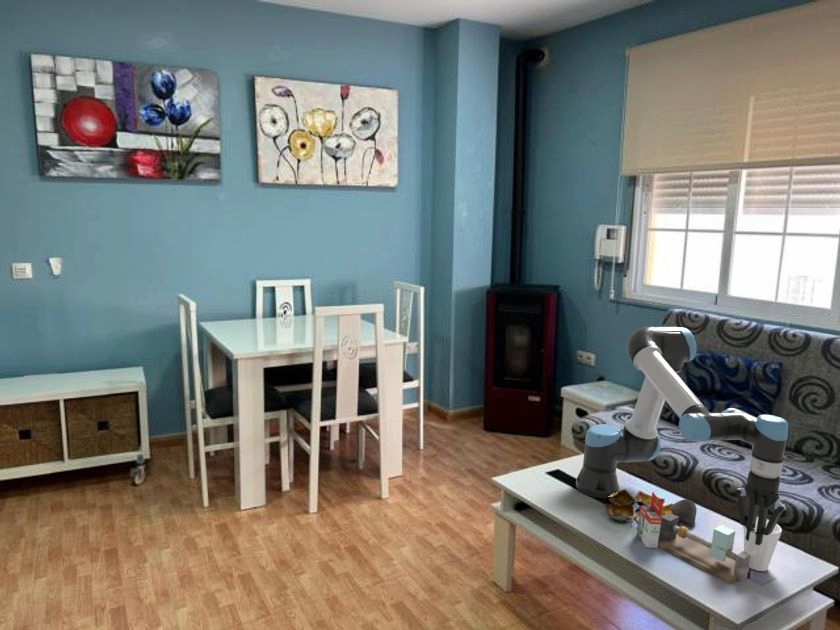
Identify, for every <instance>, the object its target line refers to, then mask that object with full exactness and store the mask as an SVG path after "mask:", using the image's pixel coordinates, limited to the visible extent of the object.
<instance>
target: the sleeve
mask: <svg viewBox="0 0 840 630" xmlns="http://www.w3.org/2000/svg"><path fill="white" fill-rule="evenodd" d="M735 535H736V530H734V529H732V528H730V527H728V526H725V525H723V524H720V525H718V526H717V527H715V528H713V531H712V539H711V542H712V545H711V552H710V556H712V557H714V558H716V559H718V560H720V561H722V562H725V559H726V557H727V556H726V552H727V550H729V551H731V552H733V550H734V542H735V538H736V537H735ZM728 558H729V557H728Z"/></svg>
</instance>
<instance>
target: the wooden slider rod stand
mask: <svg viewBox="0 0 840 630" xmlns="http://www.w3.org/2000/svg"><path fill="white" fill-rule="evenodd" d="M678 525H679V517H678V516H676V515H674V514H671V513H668V514H666V513H665V515H662V517H661V525H660V532H659V539H658V546H657V548H660V549H662V550H664V551H665V552H668V553H670V554H671V555H673V556H675V557H677V558H679V559H681V560H683V561H686V562H687V563H689V564H691V565H692V566H695V567H697V568H699V569H701V570H703V571H705V572H707V573H708V574H710V575H712V576H714V577H716V578H718V579H720V580H722V581H724V582H726V583H728V584H733V582H735V581H738V582H742V581H743V580H745V579H746V578H747V577H748V573H750V569H751V568H750V567H749V562H750V556H751V555H749V554H747V552H745V551H744V550H743V551H742V550H741V552H739V553H736V552H733V551H732V552H731V551H729V550H727V552H726V556H727V557H726V559H725V562H722V561H720V560H718V559H716V558H714V557H712V556H710V552H711V545H712V541H710V540H708V539H707V538H703V537H701V536H699V535H697V534H695V533H693V532H691V531H689V528H688V527H686V526H684V525H680V526H678ZM728 557H729V558H728Z"/></svg>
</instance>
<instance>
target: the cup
mask: <svg viewBox="0 0 840 630" xmlns="http://www.w3.org/2000/svg"><path fill="white" fill-rule="evenodd" d="M758 517H759V516H757V518H756V524H755V526H756V527H755V528H754V529H756V530H757V523H758ZM769 520H770V519H768V518H767V521H766V526H767V524H768V522H769ZM765 528H766V527H765ZM742 529H743V551H745V552H747V549H748V542H749V541H747V540H746V532H747V528H746V527H745V526H744V525H742ZM782 531H783V529H782V527H781V526H780V525H779V524H778V523H776V525H775V527H774V529H773V531H772V533H770V534H769V535H763V541H762V544H761V545H758V549H757V553H756V554H755V555H753V556H750V562H749V567H750V569H752V570H754V571H758V572H766V571H768V569H769V566H770V564H771V561H772V557H773V556H774V553H775V550H776V547H777V545H778V542H779V540H780V538H781V535H782Z"/></svg>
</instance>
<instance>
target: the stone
mask: <svg viewBox="0 0 840 630" xmlns="http://www.w3.org/2000/svg"><path fill="white" fill-rule="evenodd" d="M669 507H670V510H671V511H672V513H673V514H674V515H676V516H678V517H679V520H678V522H679V521H680V522H684V523H687V524H688V525H689V526H690V527H694V526H695V521H696V517H697V511H698V510H697V506H696V504H695V502H694V501H692V500H691V499H680V500H678V501H676V502H675V503H673V504H672V505H670V506H669Z"/></svg>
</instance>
